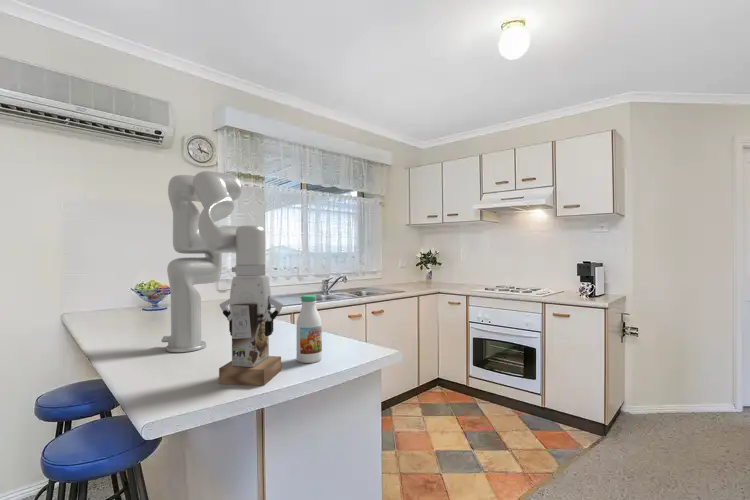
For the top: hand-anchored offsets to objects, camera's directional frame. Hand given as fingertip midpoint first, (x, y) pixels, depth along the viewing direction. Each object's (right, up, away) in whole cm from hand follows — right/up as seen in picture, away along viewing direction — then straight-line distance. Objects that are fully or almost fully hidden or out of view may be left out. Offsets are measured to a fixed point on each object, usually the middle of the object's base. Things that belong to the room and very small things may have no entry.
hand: (251, 334), depth 104 cm
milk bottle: (+13, -11, +16) cm, 23 cm away
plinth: (0, -11, 0) cm, 11 cm away
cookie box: (0, -8, 0) cm, 8 cm away
